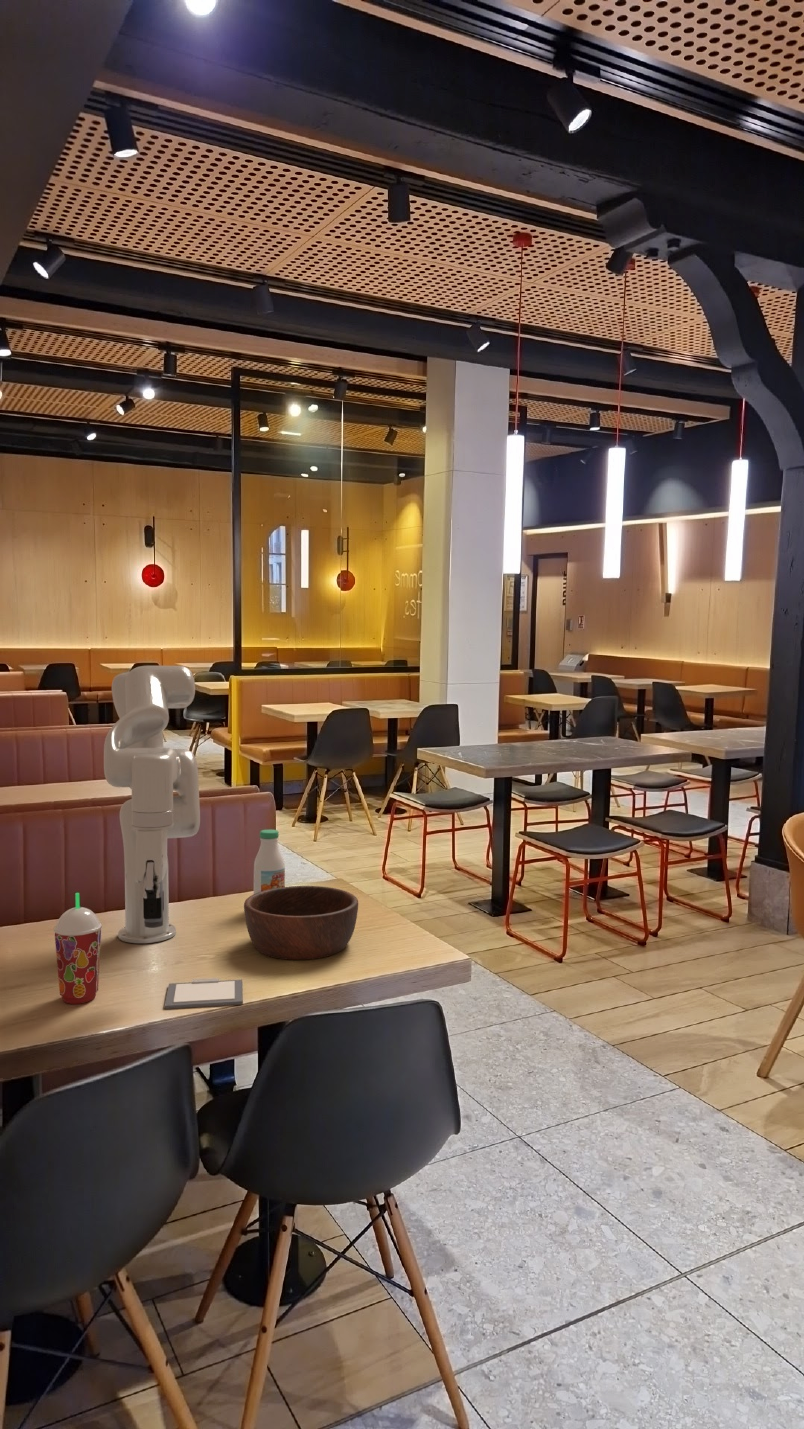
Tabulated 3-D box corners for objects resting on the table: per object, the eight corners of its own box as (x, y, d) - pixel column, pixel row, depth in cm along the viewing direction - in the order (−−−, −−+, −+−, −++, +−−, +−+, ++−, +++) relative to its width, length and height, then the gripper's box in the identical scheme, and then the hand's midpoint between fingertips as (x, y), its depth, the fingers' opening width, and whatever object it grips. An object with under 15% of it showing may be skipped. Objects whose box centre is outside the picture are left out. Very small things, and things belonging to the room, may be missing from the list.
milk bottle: (249, 913, 225) (249, 833, 223) (259, 904, 232) (259, 827, 231) (279, 915, 224) (279, 834, 222) (288, 906, 231) (288, 828, 230)
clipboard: (168, 986, 177) (168, 980, 177) (242, 982, 179) (242, 976, 179) (164, 1009, 166) (164, 1003, 166) (242, 1004, 168) (242, 998, 168)
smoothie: (108, 990, 175) (106, 887, 173) (95, 1007, 166) (93, 899, 165) (64, 990, 174) (62, 887, 173) (48, 1007, 166) (46, 899, 164)
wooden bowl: (342, 924, 217) (342, 881, 216) (371, 959, 194) (371, 911, 193) (236, 933, 210) (236, 889, 209) (253, 970, 186) (253, 921, 185)
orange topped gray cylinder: (145, 922, 174) (144, 867, 173) (164, 921, 175) (163, 867, 174) (142, 928, 171) (142, 872, 170) (162, 927, 171) (161, 871, 170)
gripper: (137, 811, 179) (138, 903, 180) (125, 828, 162) (127, 929, 164) (177, 810, 180) (178, 902, 181) (169, 827, 163) (170, 928, 165)
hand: (153, 914), depth 172 cm, fingers closed on orange topped gray cylinder, 3 cm apart
